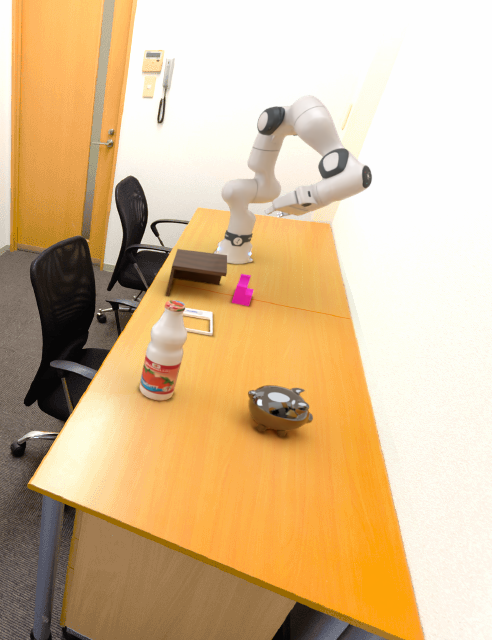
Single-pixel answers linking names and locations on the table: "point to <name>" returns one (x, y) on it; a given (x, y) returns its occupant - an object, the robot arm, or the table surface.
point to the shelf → (197, 267)
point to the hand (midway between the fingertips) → (271, 214)
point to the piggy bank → (278, 408)
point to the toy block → (243, 291)
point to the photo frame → (202, 315)
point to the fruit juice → (164, 353)
